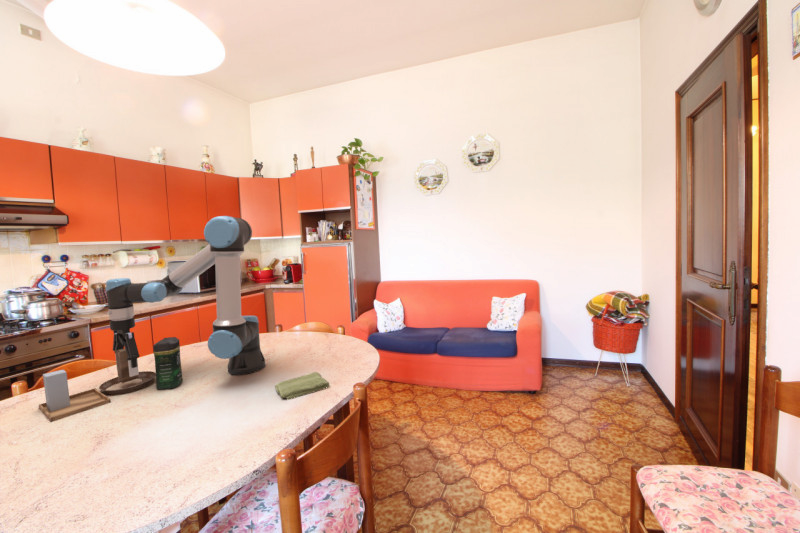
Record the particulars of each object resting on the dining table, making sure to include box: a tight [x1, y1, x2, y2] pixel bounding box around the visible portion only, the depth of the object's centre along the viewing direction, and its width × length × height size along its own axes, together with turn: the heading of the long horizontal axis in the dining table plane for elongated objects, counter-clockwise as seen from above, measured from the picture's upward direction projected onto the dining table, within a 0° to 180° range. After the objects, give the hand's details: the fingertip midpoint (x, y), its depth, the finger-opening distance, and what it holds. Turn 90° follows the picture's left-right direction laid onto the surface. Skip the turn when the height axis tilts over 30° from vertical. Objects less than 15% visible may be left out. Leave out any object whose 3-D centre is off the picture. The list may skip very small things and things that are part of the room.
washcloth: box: [274, 371, 330, 400], centre depth 128 cm, size 13×18×3 cm
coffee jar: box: [152, 336, 183, 391], centre depth 134 cm, size 10×8×19 cm
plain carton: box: [42, 369, 70, 412], centre depth 118 cm, size 4×5×12 cm
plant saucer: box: [98, 370, 156, 395], centre depth 135 cm, size 18×18×3 cm
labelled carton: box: [114, 347, 139, 384], centre depth 135 cm, size 4×5×12 cm
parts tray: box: [38, 388, 112, 423], centre depth 120 cm, size 17×15×2 cm
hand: (127, 372), depth 135 cm, fingers open, 13 cm apart
